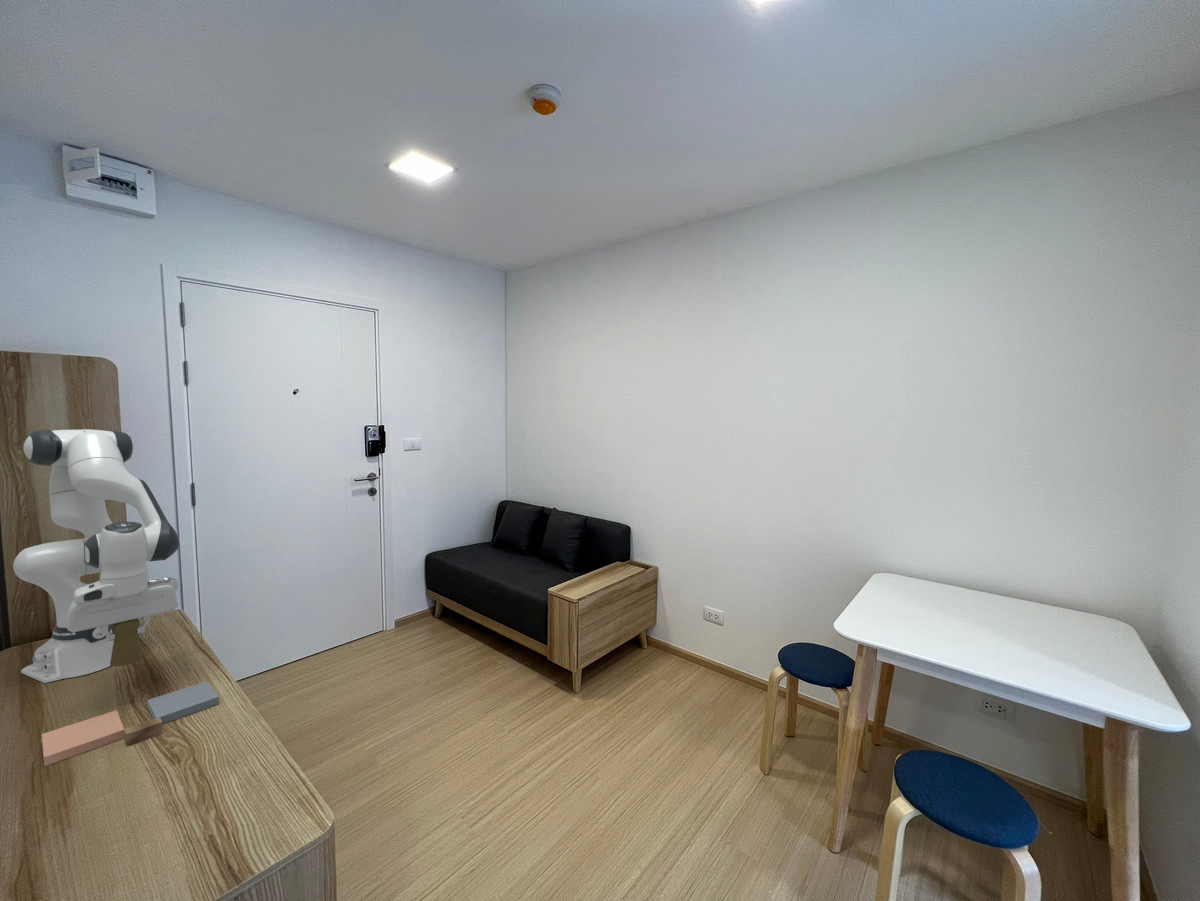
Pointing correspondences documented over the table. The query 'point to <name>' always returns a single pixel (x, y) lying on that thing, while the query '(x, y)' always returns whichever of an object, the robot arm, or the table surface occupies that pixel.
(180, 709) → the steel tile
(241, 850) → the table surface
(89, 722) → the terracotta tile
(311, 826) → the table surface
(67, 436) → the robot arm
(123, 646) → the olive rounded tall piece
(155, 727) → the walnut brick
